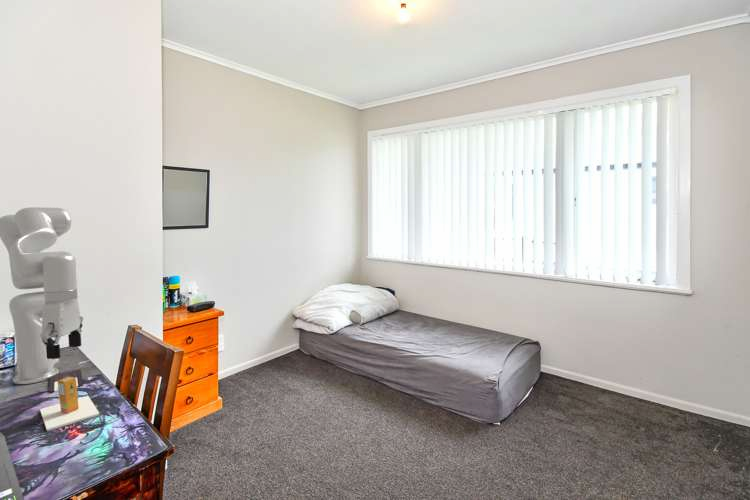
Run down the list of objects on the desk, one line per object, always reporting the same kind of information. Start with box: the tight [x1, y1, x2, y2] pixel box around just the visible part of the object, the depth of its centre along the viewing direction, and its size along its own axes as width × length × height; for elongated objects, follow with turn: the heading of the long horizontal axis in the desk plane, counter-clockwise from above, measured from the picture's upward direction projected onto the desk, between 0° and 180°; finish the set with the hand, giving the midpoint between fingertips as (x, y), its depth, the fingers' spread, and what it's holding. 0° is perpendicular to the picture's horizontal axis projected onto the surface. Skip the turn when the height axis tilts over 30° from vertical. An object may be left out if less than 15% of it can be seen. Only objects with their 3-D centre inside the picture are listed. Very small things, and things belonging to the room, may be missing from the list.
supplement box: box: [58, 377, 79, 414], centre depth 115 cm, size 3×3×10 cm
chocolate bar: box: [48, 368, 84, 394], centre depth 137 cm, size 9×1×18 cm
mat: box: [39, 395, 100, 432], centre depth 115 cm, size 16×12×1 cm
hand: (65, 352), depth 113 cm, fingers open, 9 cm apart
